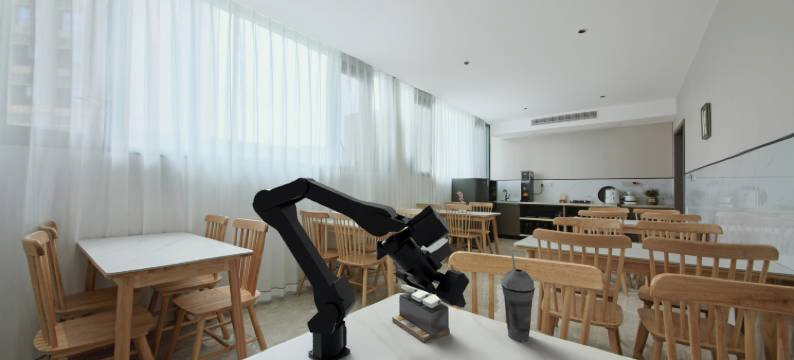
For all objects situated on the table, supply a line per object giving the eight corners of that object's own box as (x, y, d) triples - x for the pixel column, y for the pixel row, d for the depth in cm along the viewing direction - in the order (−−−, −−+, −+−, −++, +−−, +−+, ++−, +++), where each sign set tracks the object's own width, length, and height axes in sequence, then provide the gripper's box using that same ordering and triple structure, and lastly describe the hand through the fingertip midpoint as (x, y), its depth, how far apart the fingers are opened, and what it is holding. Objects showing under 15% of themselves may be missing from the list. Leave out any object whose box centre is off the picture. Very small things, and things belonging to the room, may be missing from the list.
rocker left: (408, 291, 78) (409, 287, 78) (400, 287, 81) (401, 283, 81) (422, 294, 80) (423, 290, 81) (414, 290, 83) (415, 286, 83)
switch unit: (423, 342, 69) (423, 314, 69) (392, 321, 79) (392, 296, 79) (449, 332, 73) (449, 306, 73) (416, 313, 84) (416, 290, 84)
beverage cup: (539, 346, 67) (538, 255, 67) (504, 342, 68) (503, 253, 69) (531, 330, 74) (530, 248, 74) (500, 327, 76) (499, 247, 76)
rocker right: (431, 308, 70) (431, 304, 70) (422, 303, 73) (422, 299, 73) (446, 300, 73) (446, 296, 73) (437, 295, 76) (436, 291, 76)
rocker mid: (419, 302, 74) (419, 297, 74) (411, 297, 77) (410, 293, 77) (434, 294, 77) (433, 290, 77) (425, 290, 80) (425, 286, 80)
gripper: (461, 232, 58) (499, 279, 64) (405, 222, 74) (440, 261, 80) (430, 281, 54) (474, 327, 60) (377, 259, 69) (416, 297, 75)
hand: (449, 298), depth 69 cm, fingers open, 9 cm apart
